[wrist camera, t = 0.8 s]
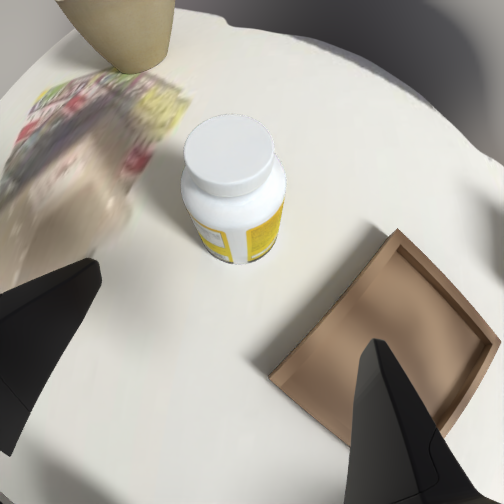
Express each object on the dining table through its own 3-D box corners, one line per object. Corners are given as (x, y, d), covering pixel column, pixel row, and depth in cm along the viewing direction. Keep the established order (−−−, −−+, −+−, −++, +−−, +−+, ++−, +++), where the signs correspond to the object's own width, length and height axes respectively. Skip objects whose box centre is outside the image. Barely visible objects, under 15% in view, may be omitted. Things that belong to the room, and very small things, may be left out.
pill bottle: (285, 207, 26) (305, 116, 15) (265, 276, 24) (275, 217, 13) (216, 189, 27) (195, 94, 16) (190, 254, 25) (145, 183, 14)
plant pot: (138, 31, 37) (117, -44, 22) (212, 39, 35) (202, -54, 20) (75, 86, 33) (33, 6, 18) (146, 102, 31) (107, -10, 16)
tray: (394, 478, 18) (404, 485, 17) (267, 376, 22) (269, 378, 20) (489, 343, 22) (501, 341, 20) (388, 236, 25) (397, 228, 23)
